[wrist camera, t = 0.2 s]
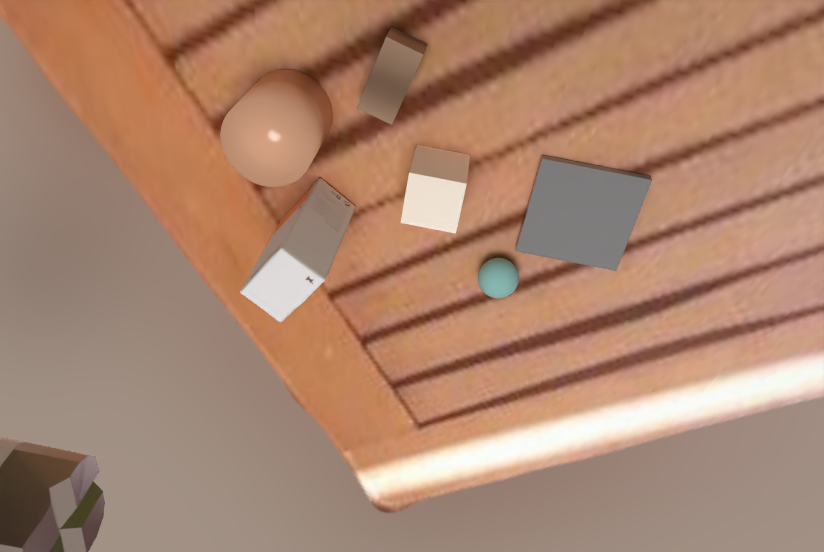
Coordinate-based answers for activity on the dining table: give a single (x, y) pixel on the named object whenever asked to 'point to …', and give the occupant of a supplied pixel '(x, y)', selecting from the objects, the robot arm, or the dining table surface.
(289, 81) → the tan domed cylinder
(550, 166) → the slate coaster
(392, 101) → the walnut block
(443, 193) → the cream block
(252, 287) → the skincare box
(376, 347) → the dining table surface
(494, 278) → the teal ball
